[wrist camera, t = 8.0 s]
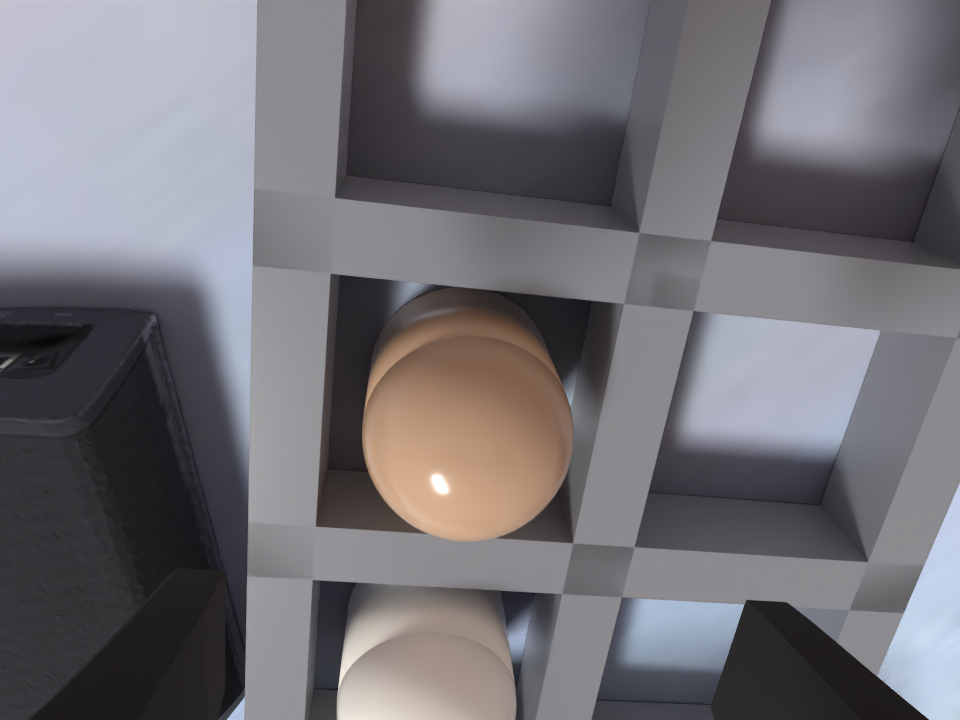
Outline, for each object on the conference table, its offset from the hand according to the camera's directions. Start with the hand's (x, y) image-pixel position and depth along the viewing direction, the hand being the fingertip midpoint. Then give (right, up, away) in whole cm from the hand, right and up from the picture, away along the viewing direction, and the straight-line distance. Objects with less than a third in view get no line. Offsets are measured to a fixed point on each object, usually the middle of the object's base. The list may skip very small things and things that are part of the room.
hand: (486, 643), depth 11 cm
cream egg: (-2, -3, +11) cm, 12 cm away
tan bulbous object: (-1, +4, +8) cm, 9 cm away
